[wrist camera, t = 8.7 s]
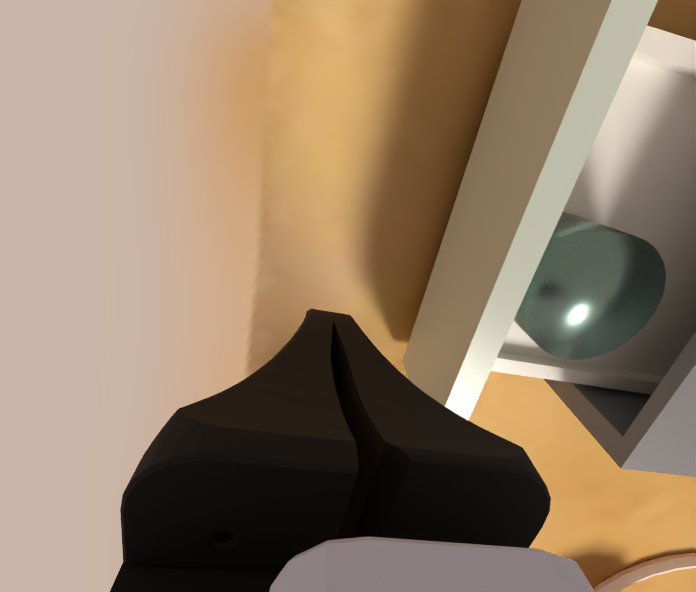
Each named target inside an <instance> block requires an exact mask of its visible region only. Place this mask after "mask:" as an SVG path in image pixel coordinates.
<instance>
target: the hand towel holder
mask: <svg viewBox="0 0 696 592" xmlns="http://www.w3.org/2000/svg"><path fill="white" fill-rule="evenodd" d="M689 568H696V553H685V554H677V555H669V556H665V557H661V558H657V559H653V560H649V561H646V562H642V563H640V564H637V565H635V566H633V567H630V568H628V569H625V570H623V571H620V572H618V573H617V574H615V575H613V576H612V577H610V578H608V579H606V580H605V581H603V582H601V583H600V584H598V585H597V586H596V587H595V588H593V590H594V591H595V592H619V591H621V590H622V589H624V588H626V587H628V586H630V585H632V584H635V583H637V582H640V581H642V580H645V579H647V578H650V577H652V576H656V575H660V574H664V573H667V572H671V571H675V570H681V569H689Z"/></svg>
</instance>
